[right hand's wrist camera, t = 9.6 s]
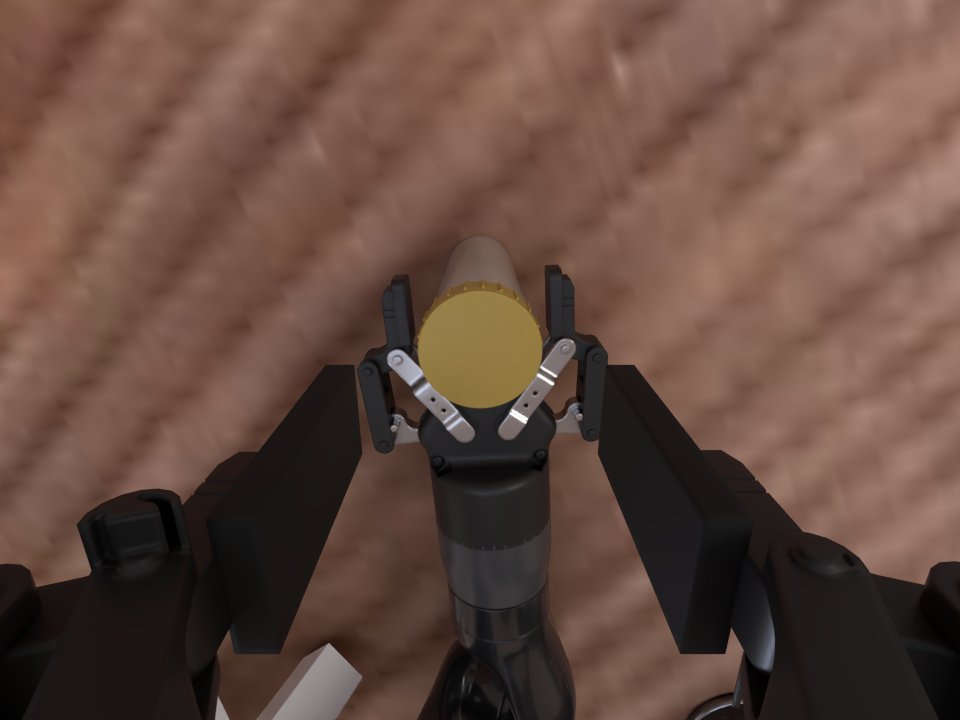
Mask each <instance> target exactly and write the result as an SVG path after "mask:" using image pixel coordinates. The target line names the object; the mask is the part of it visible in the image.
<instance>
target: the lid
mask: <svg viewBox="0 0 960 720" xmlns="http://www.w3.org/2000/svg"><path fill="white" fill-rule="evenodd" d="M422 321H423V322H424V323H423V326H421V328H420V330H419V333H418V336H417V338H419V340H418V351H417V355H418V359H419V363H420V367H421V370H422V372H423V374H424V376H425V378H426V380H427V381H428V382H429V384H430V385H431V386H432V387H433V388H434V390H435V391H436V392H438V393H439V394H440V395H441V396H443V397H444V398H446V399H447V400H449V401H451V402H453V403H455V404H458V405H461V406H465V407H470V408H490V407H495V406H499V405H502V404H504V403H507V402H509V401H511V400H513V399H514V398H516V397H517V396H519V395H520V394H521V393H522V392H523V391H524V390H526V389H527V388H528V386H529V385H530V384H531V382H532V381H533V379H534V378H535V376H536V374H537V372H538V370H539V367H540V363H541V360H542V344H543V340H542V337H541V334H540V332H539V329H538V328H539V327H540V325H539V323H538V320H537V317H536V316H535V317H534V316H533V313H532V310H531V307H530V305H529V303H528V302H525V301H524V300H523V299H522V298H521V297H520V296H519V295H518V293H517V291H516V290H515V291H512V290H511V289H509V288H507V287H505V286H502V283H500V282H499V284H497V283H492V282H486V281H485V279H482V281H473V282H467V281H464V283H463V284H460V285H457V286H455V287H453V288H451V287H449V288H448V291H446V292H445V293H444V294H442V295H441V296H440V297H439V298H438V297H436V298H435V300H434V303H433V305H432V306H431V308H430V309H429V311H426V312H425V315H424V318H423V320H422Z"/></svg>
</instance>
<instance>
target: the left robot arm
mask: <svg viewBox="0 0 960 720" xmlns="http://www.w3.org/2000/svg"><path fill="white" fill-rule="evenodd" d="M545 296H546V327H547V329H548V331H549V334H548V336H547V337H546V338H545V340H544V341H543V344H542V360H541V363H540V367H539V370H538V372H537V374H536V376H535V378H534V379H533V381H532V382H531V384H530V385H529V386H528V388H527V389H526V390H524V391H523V392H522V393H521V394H520V395H519V396H517V397H516V398H514V399H513V400H511V401H509V402H507V403H504V404H502V405H499V406H495V407H490V408H470V407H465V406H461V405H458V404H455V403H453V402H451V401H449V400H447V399H446V398H444V397H443V396H441V395H440V394H439V393H438V392H436V391H435V390H434V388H433V387H432V386H431V385H430V384H429V382H428V381H427V380H426V378H425V376H424V374H423V372H422V370H421V367H420V363H419V359H418V355H417V351H418V347H417V346H416V345H415V344H414V343H413V339H414V337H415V325H414V317H413V308H412V299H411V291H410V282H409V276H408V274H406V275H395V276H394V278H393V279H392V281H391V286H388V287H387V288H386V290H385V291H384V293H383V297H382V307H383V314H384V322H385V329H386V336H387V344H386V345H384V346H382V347H380V348H373V349H370V350H369V351H368V352H367V353H366V355H365V358H364V360H363V361H362V362H361V363H360V365H359V366H358V369H357V373H358V378H359V382H360V387H361V391H362V395H363V400H364V404H365V408H366V413H367V417H368V422H369V426H370V430H371V435H372V439H373V443H374V447H375V449H376V450H377V451H378V452H380V453H389V452H391V451H392V450H393V447H394V445H396V444H405V443H414V442H420V443H421V444H422V445H423V446H424V448H425V449H426V451H427V453H428V456H429V461H430V469H431V478H432V486H433V495H434V503H435V512H436V520H437V528H438V537H439V545H440V552H441V557H442V561H443V564H444V567H445V571H446V575H447V581H448V590H449V599H450V607H451V616H452V622H453V627H454V630H455V633H456V636H457V638H458V639H457V640H456V641H455V642H454V644H453V645H452V646H451V648H450V649H449V651H448V653H447V655H446V657H445V659H444V661H443V663H442V666H441V668H440V670H439V673H438V675H437V678H436V680H435V683H434V685H433V687H432V689H431V692H430V694H429V696H428V698H427V700H426V702H425V704H424V706H423V708H422V710H421V712H420V714H419V716H418V718H417V720H575V712H576V693H575V685H574V679H573V675H572V671H571V668H570V664H569V661H568V658H567V656H566V653H565V650H564V648H563V645H562V642H561V640H560V637H559V634H558V632H557V629H556V626H555V623H554V621H553V618H552V616H551V614H550V611H549V582H548V565H549V558H550V551H551V522H550V482H549V445H550V442H551V440H552V439H553V437H554V435H555V434H563V433H581V434H582V437H583V438H584V439H585V440H586V441H590V442H592V441H596V440H598V439H599V436H600V424H601V413H602V402H603V391H604V380H605V369H606V365H607V363H608V354H607V352H606V350H605V349H604V347H603V346H602V344H601V343H600V342H599V340H598V339H597V337H595V336H594V335H583V334H580V333H577V332H575V329H574V287H573V284H572V282H571V280H570V278H569V277H568V276H567V274H566V275H562V271H561V268H560V267H559V266H558V265H546V266H545ZM571 358H572V359H575V360H578V371H577V387H576V397H571V398H569V399H568V400H567V401H566V403H565V407H564V409H563V410H562V411H561V412H559V413H556V414H553V411H552V410H551V408H550V407H549V406H548V405H547V404H546V403H545V401H544V400H543V399H544V398H545V396H546V395H547V394H548V393H549V391H550V390H551V389H552V387H553V386H554V384H555V381H556V378H557V376H558V375H559V373H560V372H561V371H562V369H563V368H564V367H565V365H566V364H567V363H568V361H569V360H570V359H571ZM391 370H394V371H395V372H396V373H397V374H398V375H399V376H400V377H401V378H402V379H403V380H404V381H405V382H406V383H407V384H408V385H409V386H410V387H411V390H412V392H413V394H414V395H415V396H416V397H417V398H418V399H419V400H420V401H421V402H422V403H423V404H424V405H425V406H426V407H427V409H426V411H425V413H424V414H423V416H422V417H421V419H420V422H414V421H412V420H411V419H409V417H408V415H407V413H406V411H405V410H403V409H402V408H396V405H395V401H394V396H393V391H392V386H391V381H390V376H389V371H391ZM732 701H733V695H728V696H723V697H720V698H717V699H714V700H711V701H709V702H707V703H706V704H704V705H702V706H701V707H699V708H698V709H697V710H696V711H695V712H694V713H693V714H692V715H691V716H690V717H689V719H688V720H745V715H744V706H743V698H742V699H741V703H740V707H739V709H738V708H735V707H732Z"/></svg>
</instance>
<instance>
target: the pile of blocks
mask: <svg viewBox="0 0 960 720" xmlns="http://www.w3.org/2000/svg"><path fill="white" fill-rule="evenodd" d="M361 679H362V676H361V675H360V674H359V673H358V672H357V671H356V670H355V669H354V668H353V667H352V666H351V665H350V664H349V663H348V662H347V661H346V660H345V659H344V658H343V657H342V656H341V655H340V654H339V653H338V652H337V651H336V650H335V649H334V648H333V647H332V646H331V645H330V644H329V643H328V644H326V645H325V646H323V647H321V648H319V649H318V650H316V651H314V652H312V653H311V654H309V655H307V656H306V657H304V658H303V659H302V661H301V662H300V663H299V664H298V666H297V667H296V668H295V670H294V671H293V672H292V674H291V675H290V676H289V678H288V679H287V680H286V681H285V683H284V684H283V685H282V687H281V688H280V689H279V691H278V692H277V693H276V695H275V696H274V697H273V698H272V700H271V701H270V702H269V704H268V705H267V706H266V708H265V709H264V710H263V711H262V713H261V714H260V715H259V717H258V718H257V719H256V720H336V718H337V717H338V715H339V714H340V712H341V710H342V709H343V707H344V706H345V704H346V703H347V701H348V699H349V698H350V696H351V695H352V693H353V692H354V690H355V688H356V687H357V685H358V684H359V682H360V681H361ZM215 720H229V718H228V716H227V714H226V712H225V710H224V707H223V705H222V703H221V701H220V699H219V697H218V699H217V708H216V716H215Z"/></svg>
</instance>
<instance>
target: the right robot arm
mask: <svg viewBox="0 0 960 720" xmlns="http://www.w3.org/2000/svg"><path fill="white" fill-rule="evenodd" d="M361 455H362V447H361V436H360V424H359V413H358V402H357V391H356V380H355V369H354V365H326V366H325V367H324V368H323V369H322V371H321V372H320V373H319V375H318V376H317V377H316V378H315V380H314V381H313V382H312V384H311V385H310V386H309V387H308V389H307V390H306V391H305V393H304V394H303V395H302V396H301V398H300V399H299V400H298V401H297V403H296V404H295V405H294V407H293V408H292V409H291V410H290V412H289V413H288V414H287V416H286V417H285V418H284V419H283V421H282V422H281V423H280V425H279V426H278V427H277V428H276V430H275V431H274V432H273V434H272V435H271V436H270V437H269V439H268V440H267V441H266V442H265V444H264V445H263V446H262V448H261V449H260V450H259V451H258V452H238V453H237V454H235V455H233V456H232V457H230V458H228V459H227V460H225V461H223V462H222V463H220V464H219V465H218V466H217V467H216V468H215V469H214V470H213V471H212V472H211V474H210V475H209V476H208V477H207V478H206V479H205V482H203V483H202V484H201V485H200V486H199V487H198V488H197V489H196V491H195V492H194V495H191V496H190V497H189V499H188V500H187V501H186V502H185V503H184V504H183V505H182V504H181V499H180V496H178V495H177V494H176V493H174V492H173V491H169V490H164V489H148V490H139V491H135V492H131V493H127V494H123V495H120V496H118V497H116V498H113V499H111V500H108V501H106V502H104V503H102V504H100V505H99V506H97V507H96V508H94V509H93V510H91V511H90V512H88V513H87V514H86V515H85V516H84V517H83V518H82V519H81V520H80V521H79V522H78V524H77V527H78V530H79V533H80V536H81V539H82V542H83V545H84V549H85V552H86V555H87V558H88V561H89V564H90V567H91V570H92V571H91V573H90V575H89V576H86V577H82V578H78V579H73V580H68V581H63V582H59V583H54V584H49V585H45V586H40V587H36V585H35V582H34V580H33V577H32V574H31V572H30V570H28V569H27V568H25V567H24V566H22V565H17V564H1V565H0V720H215V716H216V708H217V699H218V691H219V682H220V674H221V673H220V666H219V660H218V656H217V650H218V648H219V647H220V645H221V643H222V641H223V639H224V637H225V636H226V634H227V632H228V630H230V635H231V639H232V644H233V648H234V653H235V654H280V652H281V649H282V647H283V644H284V642H285V640H286V637H287V635H288V632H289V630H290V627H291V625H292V623H293V620H294V618H295V615H296V613H297V610H298V608H299V606H300V603H301V601H302V598H303V596H304V593H305V591H306V589H307V586H308V584H309V581H310V579H311V577H312V574H313V572H314V569H315V567H316V564H317V562H318V560H319V557H320V555H321V552H322V550H323V547H324V545H325V543H326V540H327V538H328V535H329V533H330V530H331V528H332V526H333V523H334V521H335V518H336V516H337V513H338V511H339V509H340V506H341V504H342V501H343V499H344V496H345V494H346V492H347V489H348V487H349V484H350V482H351V479H352V477H353V475H354V472H355V470H356V467H357V465H358V462H359V460H360V458H361ZM598 455H599V458H600V460H601V462H602V465H603V467H604V470H605V472H606V475H607V477H608V479H609V482H610V484H611V487H612V489H613V492H614V494H615V496H616V499H617V501H618V504H619V506H620V509H621V511H622V513H623V516H624V518H625V521H626V523H627V526H628V528H629V530H630V533H631V535H632V538H633V540H634V543H635V545H636V547H637V550H638V552H639V555H640V557H641V560H642V562H643V564H644V567H645V569H646V572H647V574H648V577H649V579H650V581H651V584H652V586H653V589H654V591H655V593H656V596H657V598H658V601H659V603H660V606H661V608H662V610H663V613H664V615H665V618H666V620H667V623H668V625H669V627H670V630H671V632H672V635H673V637H674V640H675V642H676V644H677V647H678V649H679V652H680V654H725V653H726V648H727V644H728V639H729V635H730V630H731V627H732V629H733V631H734V633H735V635H736V637H737V638H738V640H739V642H740V644H741V646H742V647H743V649H744V652H743V656H742V660H741V665H740V669H739V673H738V677H737V682H736V686H735V690H734V694H733V701H732V707H735V708H738V709H739V707H740V703H741V699H742V698H743V706H744V715H745V720H960V562H956V561H953V562H939V563H938V564H936V565H935V566H933V567H932V568H931V569H930V572H929V574H928V577H927V580H926V582H925V585H922V584H917V583H912V582H908V581H903V580H898V579H894V578H889V577H884V576H879V575H875V574H872V573H870V572H869V570H868V569H867V567H866V566H865V565H864V563H863V562H862V561H861V559H860V558H859V557H857V556H856V555H855V554H853V553H852V552H851V551H849V550H848V549H847V548H845V547H844V546H842V545H840V544H838V543H836V542H834V541H832V540H830V539H828V538H825V537H822V536H818V535H815V534H811V533H808V532H803V531H802V530H801V529H800V528H799V527H798V526H797V524H796V523H795V522H794V521H793V520H792V519H791V518H790V516H789V515H788V514H787V513H786V512H785V511H784V510H783V509H782V507H781V506H780V505H779V504H778V503H777V502H776V501H775V500H774V498H773V497H772V496H771V495H770V494H769V493H766V489H765V488H764V487H763V486H762V485H761V484H760V483H759V482H758V481H755V477H754V476H753V475H752V474H751V473H750V471H749V470H748V469H747V468H746V467H745V466H744V465H743V464H742V463H741V462H740V461H738V460H736V459H735V458H733V457H731V456H730V455H728V454H727V453H725V452H723V451H722V450H700V449H699V448H698V446H697V445H696V444H695V442H694V441H693V440H692V439H691V437H690V436H689V435H688V434H687V432H686V431H685V430H684V428H683V427H682V426H681V425H680V423H679V422H678V421H677V419H676V418H675V417H674V416H673V414H672V413H671V412H670V410H669V409H668V408H667V407H666V405H665V404H664V403H663V401H662V400H661V399H660V398H659V396H658V395H657V394H656V393H655V391H654V390H653V389H652V387H651V386H650V385H649V384H648V382H647V381H646V380H645V378H644V377H643V376H642V375H641V373H640V372H639V371H638V369H637V368H636V367H635V366H634V365H606V369H605V380H604V391H603V402H602V413H601V424H600V436H599V447H598Z"/></svg>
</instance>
